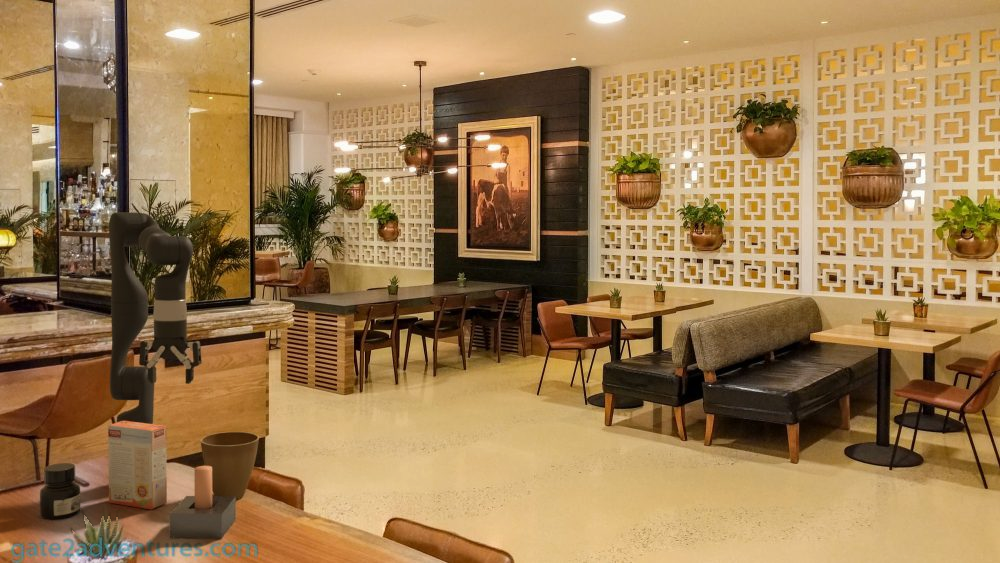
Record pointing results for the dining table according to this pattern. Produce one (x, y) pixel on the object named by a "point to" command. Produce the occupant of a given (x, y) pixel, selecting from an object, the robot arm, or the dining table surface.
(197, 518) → the socket
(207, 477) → the peg
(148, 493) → the cracker box
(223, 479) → the plant pot
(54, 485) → the ink bottle
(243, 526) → the dining table surface
